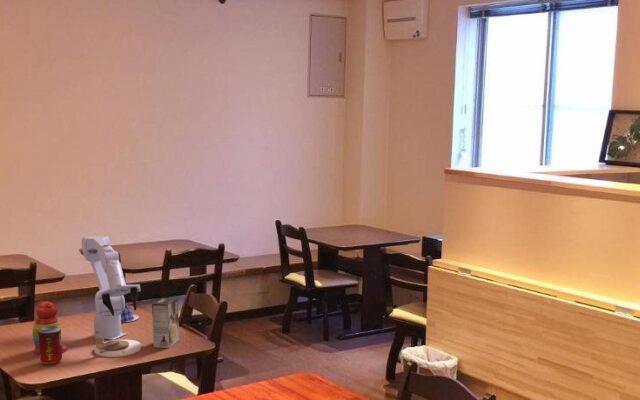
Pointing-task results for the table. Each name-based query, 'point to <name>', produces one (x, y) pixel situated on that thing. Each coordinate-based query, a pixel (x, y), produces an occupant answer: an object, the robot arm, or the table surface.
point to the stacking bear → (45, 321)
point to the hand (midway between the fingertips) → (124, 311)
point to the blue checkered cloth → (128, 315)
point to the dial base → (131, 349)
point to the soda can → (50, 345)
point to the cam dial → (110, 344)
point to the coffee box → (165, 322)
